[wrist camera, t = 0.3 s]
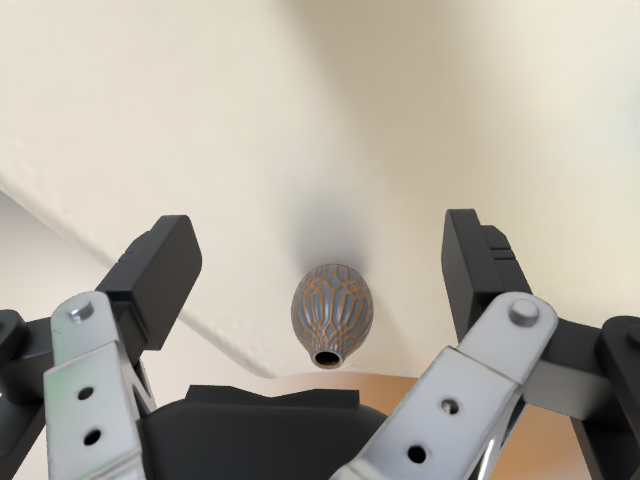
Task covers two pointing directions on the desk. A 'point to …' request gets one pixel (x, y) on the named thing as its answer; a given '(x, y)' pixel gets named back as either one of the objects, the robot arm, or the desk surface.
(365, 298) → the vase
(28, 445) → the robot arm
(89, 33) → the desk surface
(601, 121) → the desk surface
